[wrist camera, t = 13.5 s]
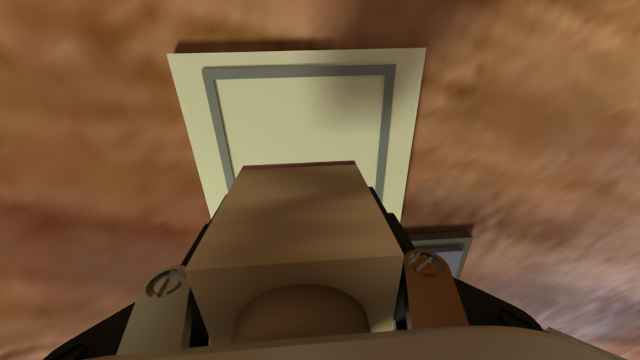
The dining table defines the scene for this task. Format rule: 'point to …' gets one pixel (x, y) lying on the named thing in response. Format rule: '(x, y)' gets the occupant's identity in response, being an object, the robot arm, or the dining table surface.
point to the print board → (301, 113)
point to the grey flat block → (445, 247)
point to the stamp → (296, 256)
